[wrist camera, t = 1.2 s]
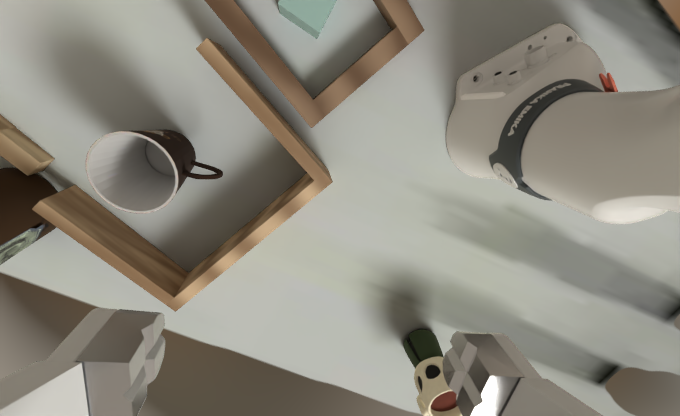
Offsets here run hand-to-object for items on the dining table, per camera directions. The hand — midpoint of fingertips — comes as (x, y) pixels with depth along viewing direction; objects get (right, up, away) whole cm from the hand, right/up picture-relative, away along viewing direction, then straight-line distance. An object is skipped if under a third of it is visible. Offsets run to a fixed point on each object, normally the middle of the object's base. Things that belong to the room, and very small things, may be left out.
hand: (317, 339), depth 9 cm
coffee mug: (-20, +10, +33) cm, 40 cm away
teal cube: (-3, +28, +28) cm, 40 cm away
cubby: (-18, +7, +34) cm, 39 cm away
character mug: (+15, -21, +50) cm, 56 cm away
